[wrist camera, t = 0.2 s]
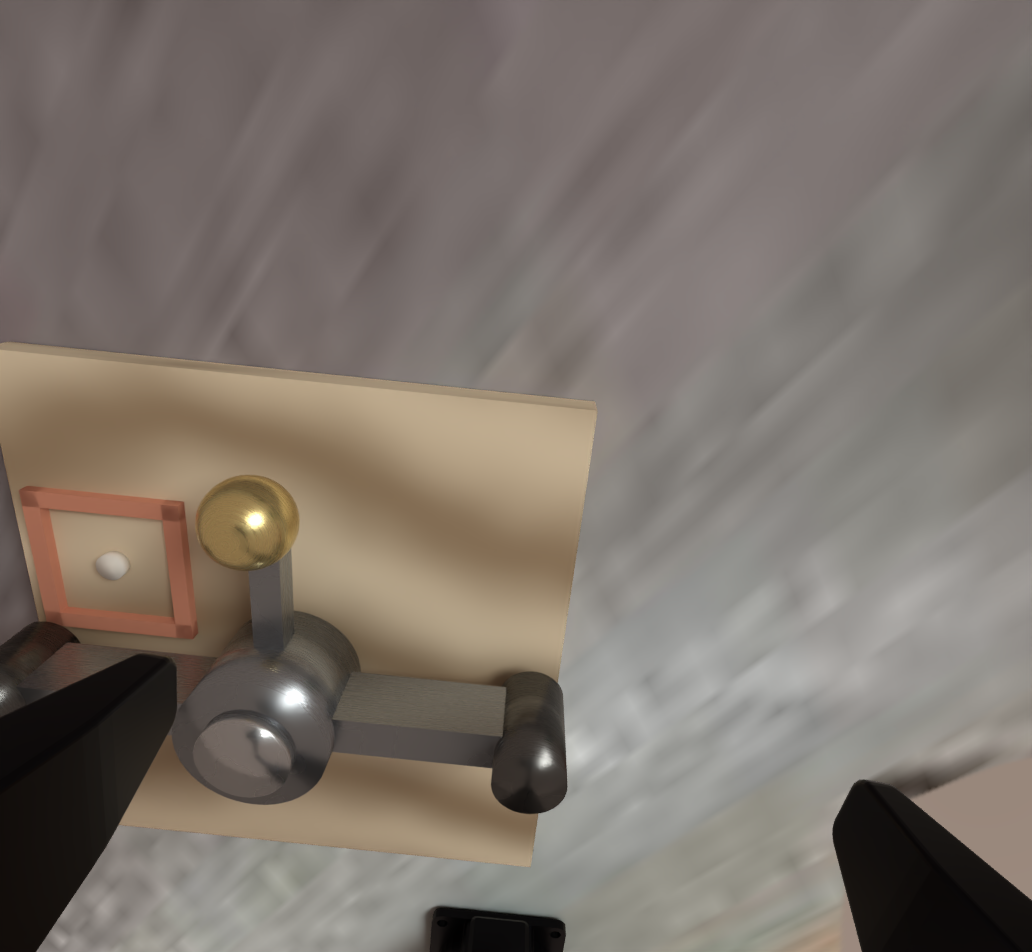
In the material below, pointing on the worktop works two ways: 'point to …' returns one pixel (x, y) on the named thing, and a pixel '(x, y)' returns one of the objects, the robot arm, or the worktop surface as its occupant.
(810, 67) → the worktop surface
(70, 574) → the board
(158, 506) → the level window
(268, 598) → the bell crank
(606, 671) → the worktop surface
